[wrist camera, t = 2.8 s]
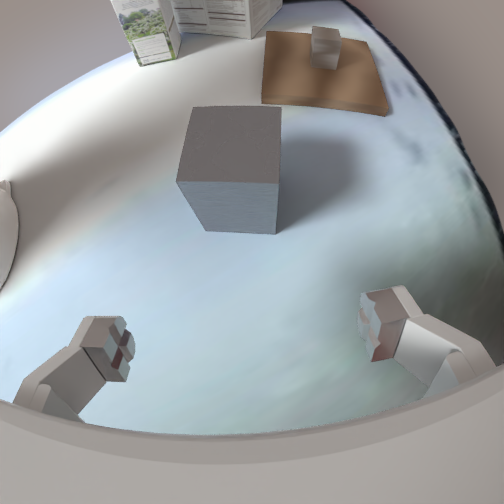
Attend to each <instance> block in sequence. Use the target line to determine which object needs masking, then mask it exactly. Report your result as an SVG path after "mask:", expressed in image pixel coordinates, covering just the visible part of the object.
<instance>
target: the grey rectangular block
mask: <svg viewBox="0 0 504 504" xmlns="http://www.w3.org/2000/svg"><path fill="white" fill-rule="evenodd" d="M280 145H281V107H268V106H211V107H193V110H192V114H191V117H190V121H189V125H188V129H187V133H186V138H185V142H184V146H183V151H182V155H181V159H180V164H179V169H178V174H177V178H176V183H177V184H178V186H179V188H180V189H181V191H182V193H183V194H184V196H185V198H186V199H187V201H188V203H189V204H190V206H191V208H192V209H193V211H194V213H195V214H196V216H197V218H198V219H199V221H200V222H201V224H202V226H203V227H204V229H205V231H217V232H238V233H258V234H275V233H276V220H277V207H278V194H279V176H280Z"/></svg>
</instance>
